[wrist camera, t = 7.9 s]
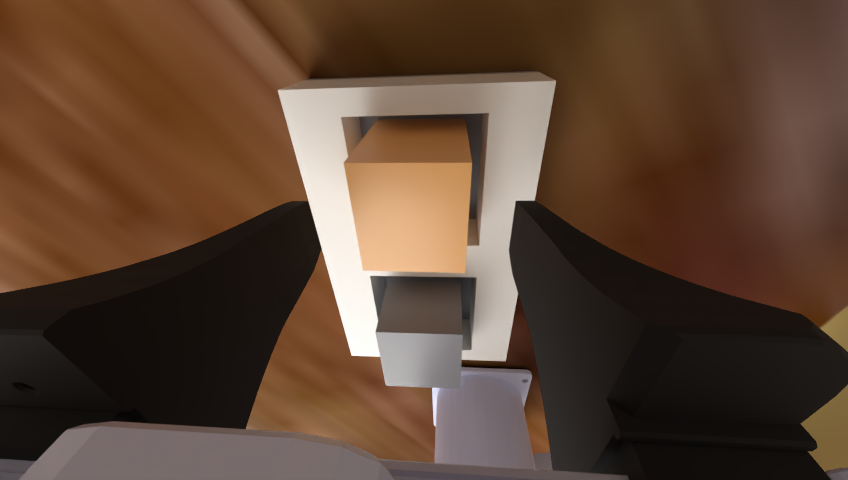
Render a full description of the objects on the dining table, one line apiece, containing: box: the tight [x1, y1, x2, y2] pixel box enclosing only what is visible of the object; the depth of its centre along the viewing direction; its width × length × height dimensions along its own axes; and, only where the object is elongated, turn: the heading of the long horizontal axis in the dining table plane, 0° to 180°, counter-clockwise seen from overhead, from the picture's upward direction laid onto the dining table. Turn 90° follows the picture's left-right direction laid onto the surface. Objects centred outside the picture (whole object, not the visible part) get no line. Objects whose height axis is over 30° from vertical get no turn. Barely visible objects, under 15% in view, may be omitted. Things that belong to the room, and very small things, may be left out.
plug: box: [344, 119, 472, 273], centre depth 13 cm, size 4×4×6 cm
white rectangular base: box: [278, 71, 556, 389], centre depth 16 cm, size 16×10×6 cm, turn 2°
